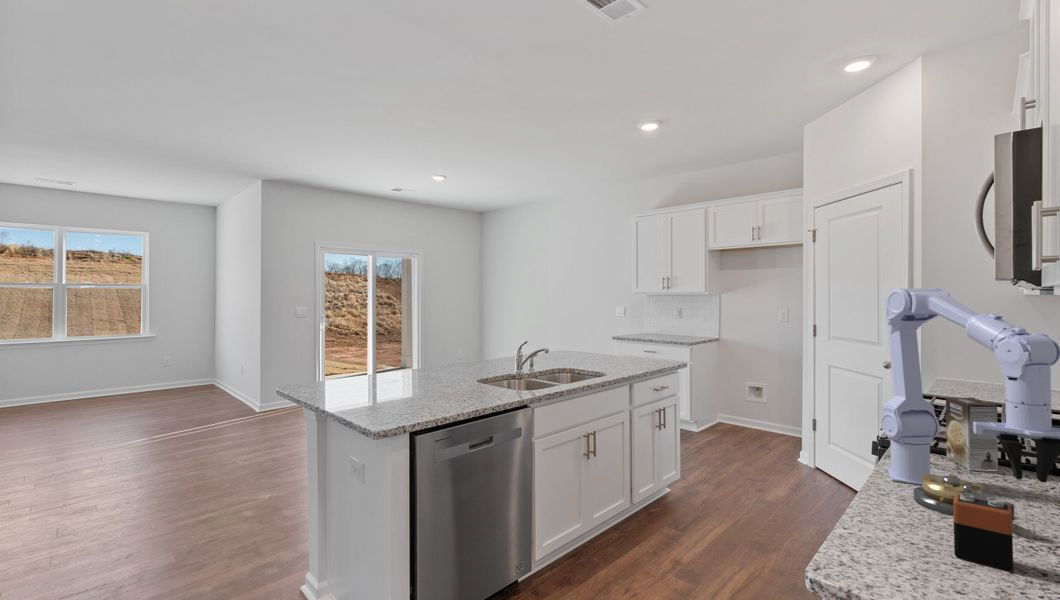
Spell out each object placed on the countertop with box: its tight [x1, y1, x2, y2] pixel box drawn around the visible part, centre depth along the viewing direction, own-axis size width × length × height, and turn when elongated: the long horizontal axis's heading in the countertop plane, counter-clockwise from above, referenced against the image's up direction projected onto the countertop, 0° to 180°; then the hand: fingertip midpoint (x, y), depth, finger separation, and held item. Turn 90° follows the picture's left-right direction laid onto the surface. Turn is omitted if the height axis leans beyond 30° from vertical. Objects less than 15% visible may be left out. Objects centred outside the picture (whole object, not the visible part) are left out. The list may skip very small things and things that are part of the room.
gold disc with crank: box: [922, 473, 1015, 522], centre depth 95 cm, size 17×9×4 cm, turn 179°
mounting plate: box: [913, 486, 954, 517], centre depth 99 cm, size 12×12×2 cm
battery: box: [953, 493, 1014, 572], centre depth 78 cm, size 4×7×10 cm, turn 47°
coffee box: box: [945, 397, 999, 472], centre depth 121 cm, size 9×6×16 cm
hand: (1029, 479), depth 87 cm, fingers open, 2 cm apart
